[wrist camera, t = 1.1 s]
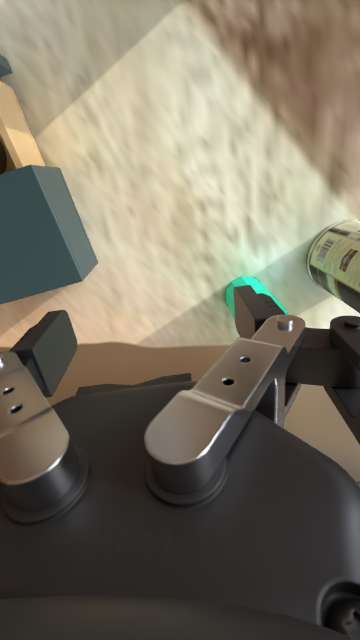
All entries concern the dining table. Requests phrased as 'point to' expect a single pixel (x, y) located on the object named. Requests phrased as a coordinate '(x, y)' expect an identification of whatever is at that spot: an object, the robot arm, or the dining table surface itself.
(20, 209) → the cabinet
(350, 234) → the coffee can
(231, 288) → the candle
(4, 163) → the pepper mill
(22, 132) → the drawer
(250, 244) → the dining table surface
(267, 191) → the dining table surface
